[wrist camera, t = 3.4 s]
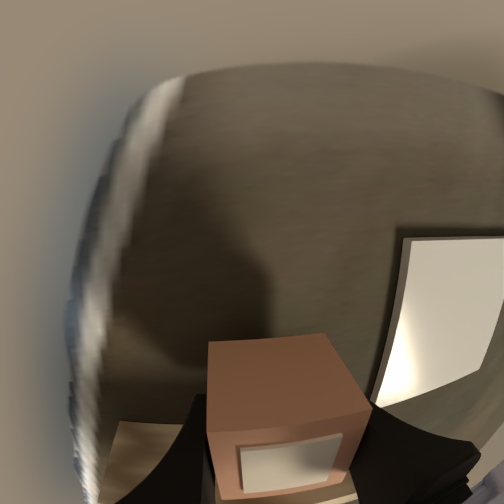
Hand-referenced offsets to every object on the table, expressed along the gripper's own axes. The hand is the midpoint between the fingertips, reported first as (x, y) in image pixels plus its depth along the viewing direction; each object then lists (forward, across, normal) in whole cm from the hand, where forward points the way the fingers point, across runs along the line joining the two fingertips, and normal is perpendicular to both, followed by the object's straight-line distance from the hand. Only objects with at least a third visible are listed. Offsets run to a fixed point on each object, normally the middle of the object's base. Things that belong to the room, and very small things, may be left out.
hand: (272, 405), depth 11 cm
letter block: (+2, 0, 0) cm, 2 cm away
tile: (+4, -14, 0) cm, 14 cm away
